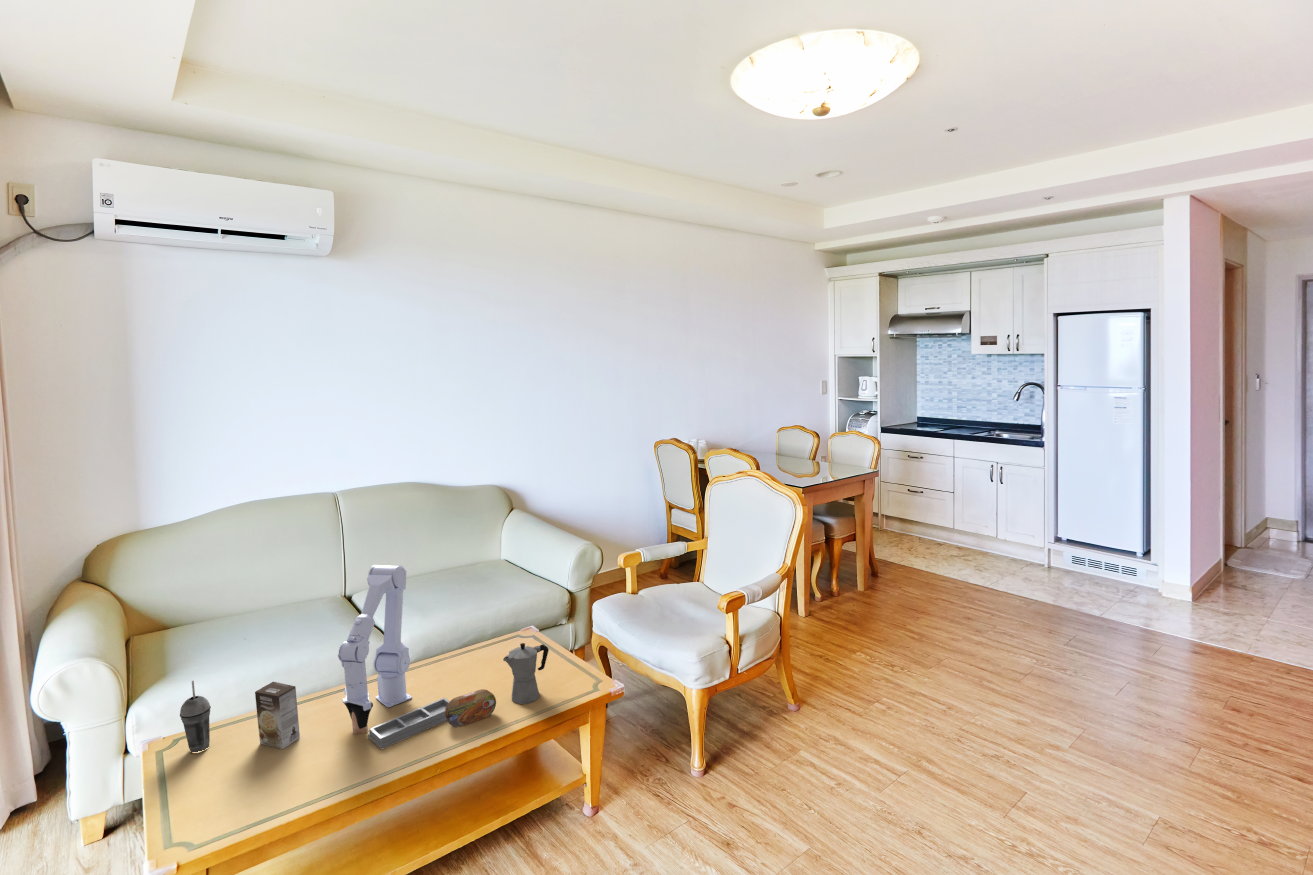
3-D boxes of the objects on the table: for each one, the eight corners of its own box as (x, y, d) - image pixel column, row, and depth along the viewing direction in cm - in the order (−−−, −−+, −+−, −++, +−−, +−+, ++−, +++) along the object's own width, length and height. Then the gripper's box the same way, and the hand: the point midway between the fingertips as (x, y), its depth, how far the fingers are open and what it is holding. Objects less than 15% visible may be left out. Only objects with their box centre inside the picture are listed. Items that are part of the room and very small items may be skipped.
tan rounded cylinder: (350, 730, 196) (348, 708, 196) (364, 724, 199) (362, 702, 198) (356, 735, 194) (354, 712, 193) (369, 729, 197) (368, 707, 196)
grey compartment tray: (368, 737, 193) (367, 727, 192) (444, 704, 210) (443, 696, 209) (381, 749, 186) (380, 739, 186) (459, 714, 204) (458, 706, 203)
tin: (447, 730, 195) (445, 703, 194) (444, 725, 198) (442, 699, 197) (497, 714, 203) (495, 688, 202) (493, 710, 206) (492, 684, 205)
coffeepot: (512, 709, 206) (509, 654, 204) (500, 697, 213) (497, 644, 211) (556, 694, 215) (554, 640, 212) (543, 682, 222) (541, 631, 220)
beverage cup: (182, 759, 184) (173, 691, 182) (186, 746, 191) (178, 680, 188) (213, 751, 187) (205, 684, 185) (216, 739, 194) (209, 673, 192)
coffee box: (258, 744, 191) (252, 691, 189) (277, 732, 197) (272, 680, 195) (283, 749, 188) (277, 695, 186) (301, 737, 194) (296, 685, 192)
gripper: (332, 677, 197) (336, 720, 198) (352, 694, 187) (355, 739, 188) (356, 669, 202) (360, 711, 203) (376, 684, 192) (380, 729, 193)
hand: (359, 724), depth 196 cm, fingers closed on tan rounded cylinder, 4 cm apart
